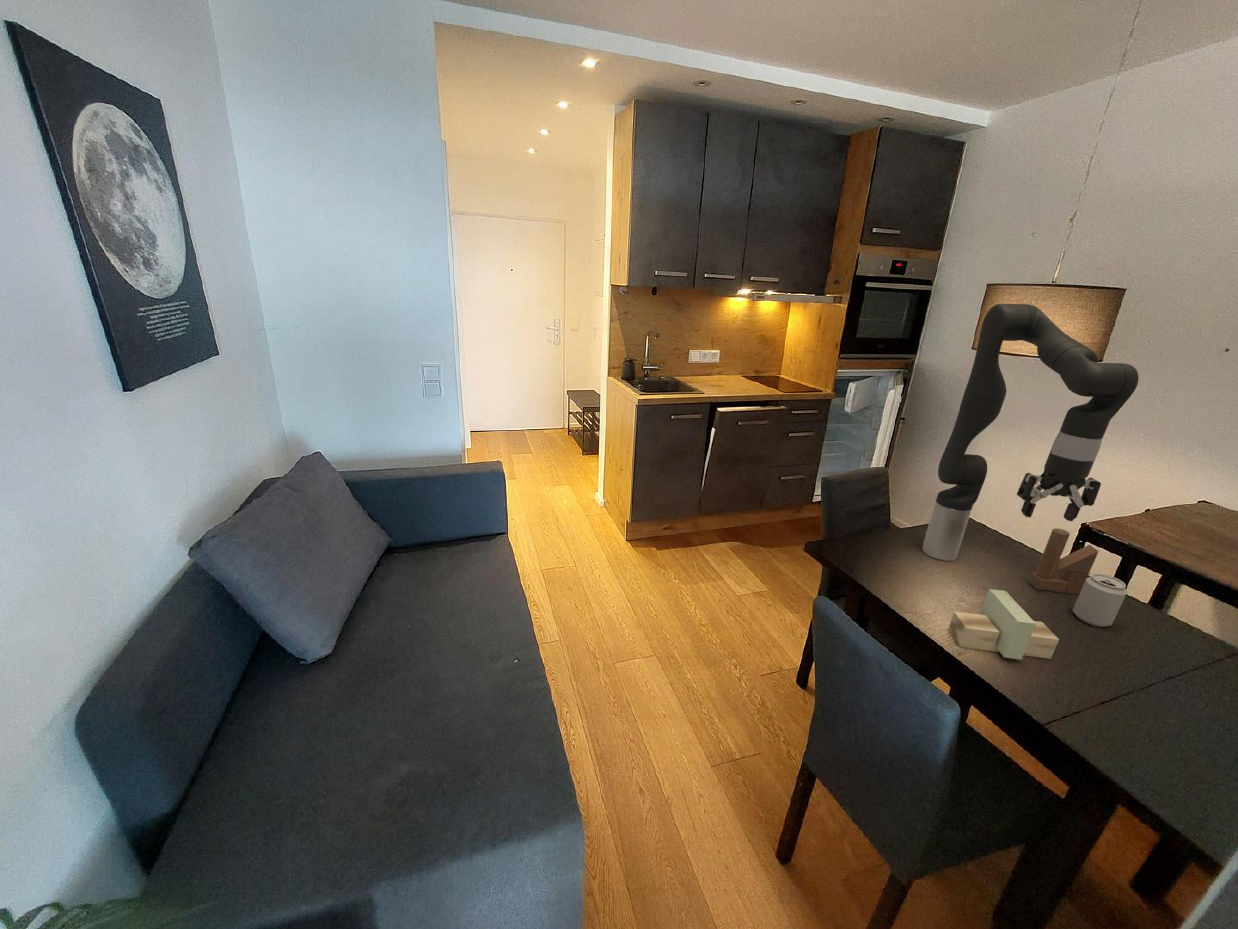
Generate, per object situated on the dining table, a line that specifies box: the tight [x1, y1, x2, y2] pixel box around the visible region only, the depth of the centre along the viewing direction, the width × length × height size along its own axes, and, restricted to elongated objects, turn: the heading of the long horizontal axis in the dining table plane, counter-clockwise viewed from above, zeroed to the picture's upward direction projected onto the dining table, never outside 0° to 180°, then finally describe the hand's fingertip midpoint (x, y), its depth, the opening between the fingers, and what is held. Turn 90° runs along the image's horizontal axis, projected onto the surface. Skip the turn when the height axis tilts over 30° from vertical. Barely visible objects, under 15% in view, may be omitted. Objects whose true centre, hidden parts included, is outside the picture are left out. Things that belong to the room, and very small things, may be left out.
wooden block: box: [1028, 528, 1099, 596], centre depth 131 cm, size 4×11×18 cm, turn 77°
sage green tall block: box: [979, 588, 1036, 661], centre depth 111 cm, size 12×4×10 cm, turn 169°
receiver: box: [947, 611, 1060, 659], centre depth 113 cm, size 6×19×6 cm, turn 80°
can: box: [1072, 572, 1128, 628], centre depth 120 cm, size 8×8×12 cm
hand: (1046, 517), depth 112 cm, fingers open, 8 cm apart
